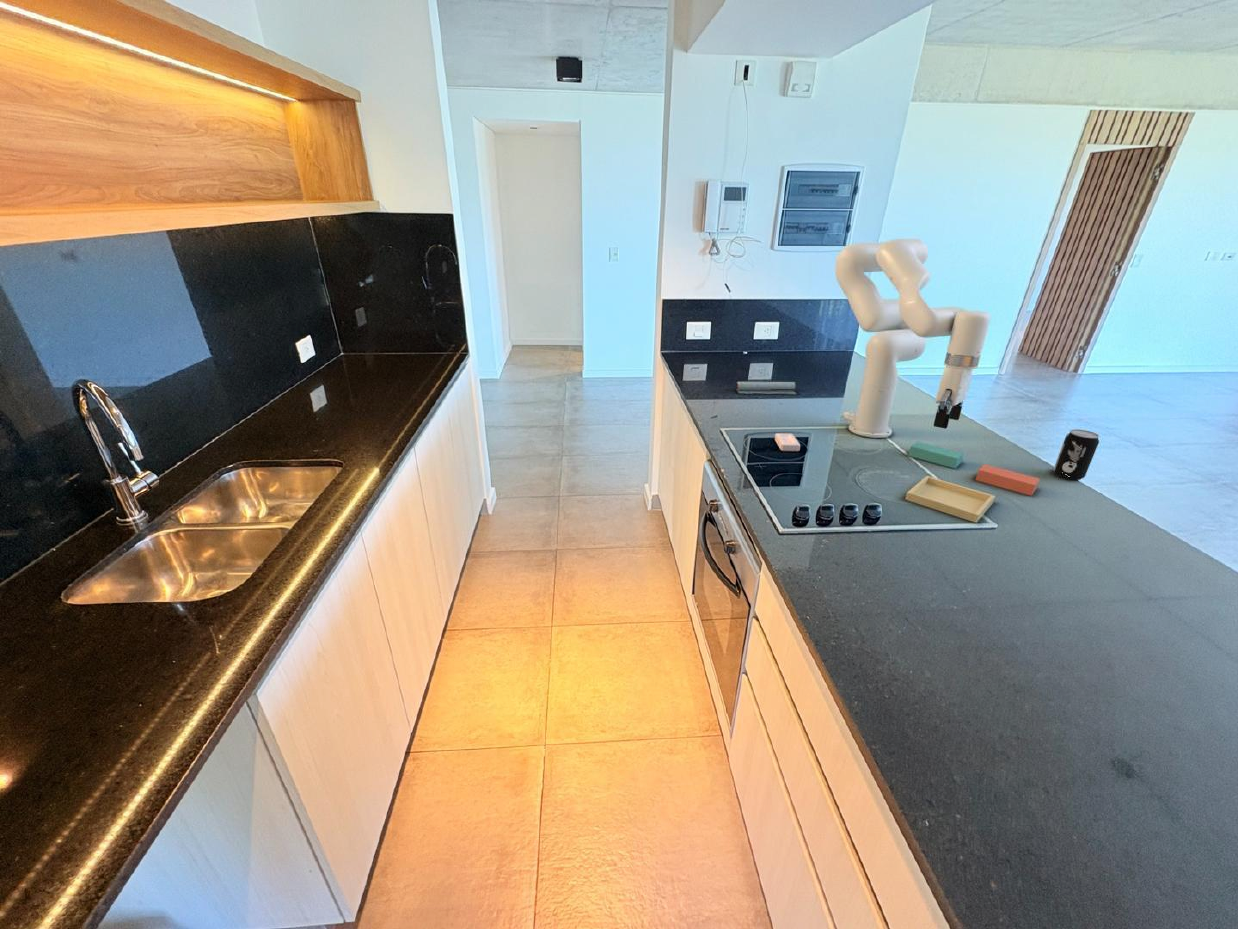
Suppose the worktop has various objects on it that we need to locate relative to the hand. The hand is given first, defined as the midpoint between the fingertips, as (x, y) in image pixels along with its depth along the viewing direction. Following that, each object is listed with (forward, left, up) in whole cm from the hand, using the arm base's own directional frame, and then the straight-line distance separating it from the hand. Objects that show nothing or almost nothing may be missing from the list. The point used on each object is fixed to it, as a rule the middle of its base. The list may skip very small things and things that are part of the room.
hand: (946, 423), depth 144 cm
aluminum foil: (-69, +23, -9) cm, 73 cm away
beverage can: (+27, +14, -11) cm, 33 cm away
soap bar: (-35, -21, -11) cm, 42 cm away
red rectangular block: (+17, -4, -11) cm, 21 cm away
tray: (+10, -24, -11) cm, 28 cm away
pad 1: (-1, 0, -11) cm, 11 cm away
